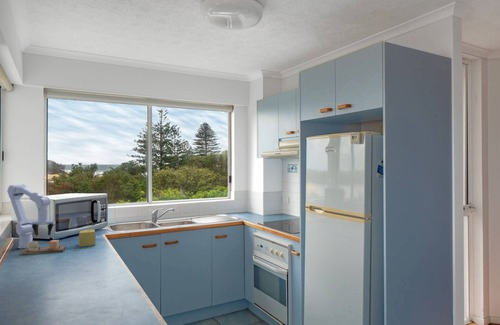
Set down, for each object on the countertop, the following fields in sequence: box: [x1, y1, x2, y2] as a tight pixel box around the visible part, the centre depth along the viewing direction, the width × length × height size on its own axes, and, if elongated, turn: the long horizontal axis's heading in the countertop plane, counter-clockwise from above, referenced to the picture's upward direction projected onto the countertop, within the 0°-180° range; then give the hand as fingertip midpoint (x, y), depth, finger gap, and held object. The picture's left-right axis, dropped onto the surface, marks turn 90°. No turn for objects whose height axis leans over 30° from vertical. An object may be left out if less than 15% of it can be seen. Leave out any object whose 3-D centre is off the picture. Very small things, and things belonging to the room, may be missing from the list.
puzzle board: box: [20, 245, 67, 256], centre depth 229 cm, size 11×24×2 cm, turn 109°
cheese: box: [78, 228, 97, 248], centre depth 248 cm, size 10×11×10 cm
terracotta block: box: [48, 239, 60, 250], centre depth 231 cm, size 4×4×6 cm
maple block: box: [29, 240, 39, 251], centre depth 227 cm, size 4×4×6 cm
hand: (43, 235), depth 235 cm, fingers open, 7 cm apart
